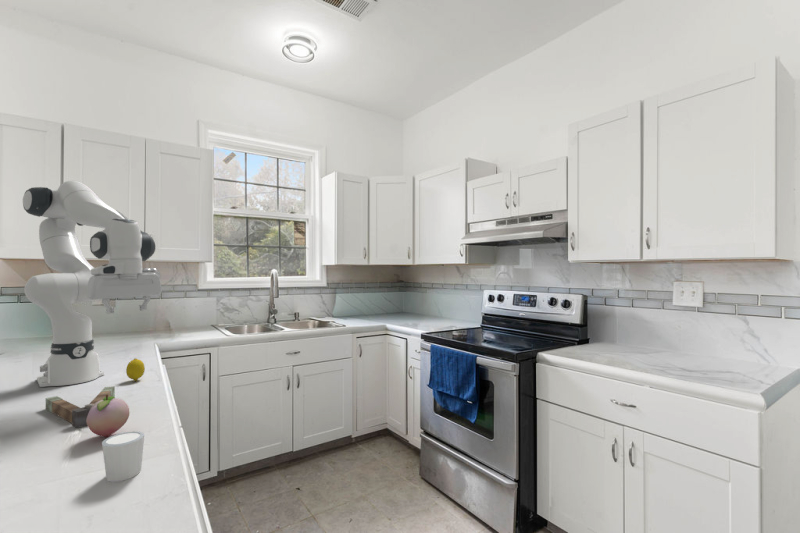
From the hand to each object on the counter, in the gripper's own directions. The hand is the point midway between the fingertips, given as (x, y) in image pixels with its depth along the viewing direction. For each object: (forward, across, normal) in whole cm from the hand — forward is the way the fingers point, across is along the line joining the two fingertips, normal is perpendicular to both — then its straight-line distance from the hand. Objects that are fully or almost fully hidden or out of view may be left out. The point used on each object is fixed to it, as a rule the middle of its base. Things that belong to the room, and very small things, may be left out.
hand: (127, 311), depth 129 cm
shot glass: (+28, +23, +55) cm, 66 cm away
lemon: (+26, -8, -16) cm, 32 cm away
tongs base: (+26, +17, +7) cm, 32 cm away
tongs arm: (+26, +10, +7) cm, 29 cm away
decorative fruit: (+28, +18, +32) cm, 46 cm away
